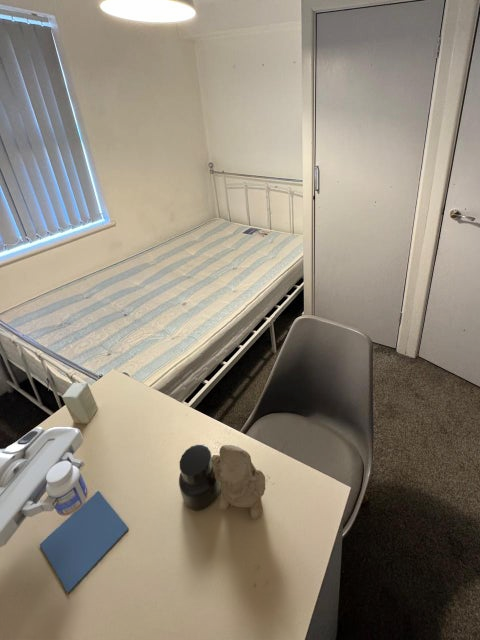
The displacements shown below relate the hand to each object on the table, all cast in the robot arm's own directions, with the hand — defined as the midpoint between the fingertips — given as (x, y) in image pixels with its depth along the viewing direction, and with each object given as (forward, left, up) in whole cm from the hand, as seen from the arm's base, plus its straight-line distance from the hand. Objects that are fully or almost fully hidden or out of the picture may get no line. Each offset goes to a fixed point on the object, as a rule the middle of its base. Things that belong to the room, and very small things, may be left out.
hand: (68, 484), depth 62 cm
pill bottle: (-1, -1, -6) cm, 6 cm away
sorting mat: (0, -2, -17) cm, 17 cm away
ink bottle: (+14, +18, -17) cm, 29 cm away
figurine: (+24, +21, -17) cm, 36 cm away
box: (-30, +12, -17) cm, 37 cm away
